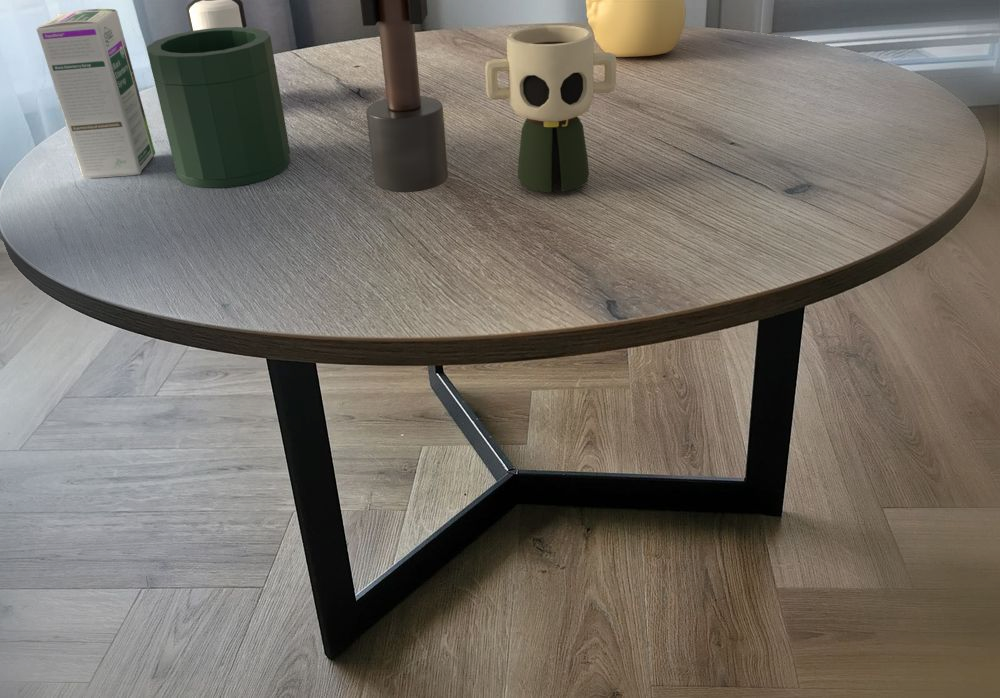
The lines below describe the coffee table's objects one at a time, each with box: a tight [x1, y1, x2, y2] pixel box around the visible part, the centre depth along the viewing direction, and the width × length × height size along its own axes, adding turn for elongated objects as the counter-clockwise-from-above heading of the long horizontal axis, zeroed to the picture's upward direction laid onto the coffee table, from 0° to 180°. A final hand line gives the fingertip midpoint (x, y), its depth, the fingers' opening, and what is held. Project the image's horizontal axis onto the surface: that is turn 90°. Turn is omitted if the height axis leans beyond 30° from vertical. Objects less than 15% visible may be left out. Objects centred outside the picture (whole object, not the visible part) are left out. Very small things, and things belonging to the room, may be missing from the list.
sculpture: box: [585, 0, 687, 58], centre depth 119 cm, size 12×12×11 cm
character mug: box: [484, 24, 617, 193], centre depth 81 cm, size 11×7×13 cm, turn 92°
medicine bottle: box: [185, 0, 248, 31], centre depth 107 cm, size 7×7×12 cm
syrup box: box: [35, 8, 156, 179], centre depth 91 cm, size 6×6×14 cm
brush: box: [365, 0, 449, 193], centre depth 60 cm, size 5×5×19 cm
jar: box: [146, 27, 292, 189], centre depth 90 cm, size 11×11×12 cm
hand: (395, 19), depth 60 cm, fingers closed on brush, 2 cm apart
